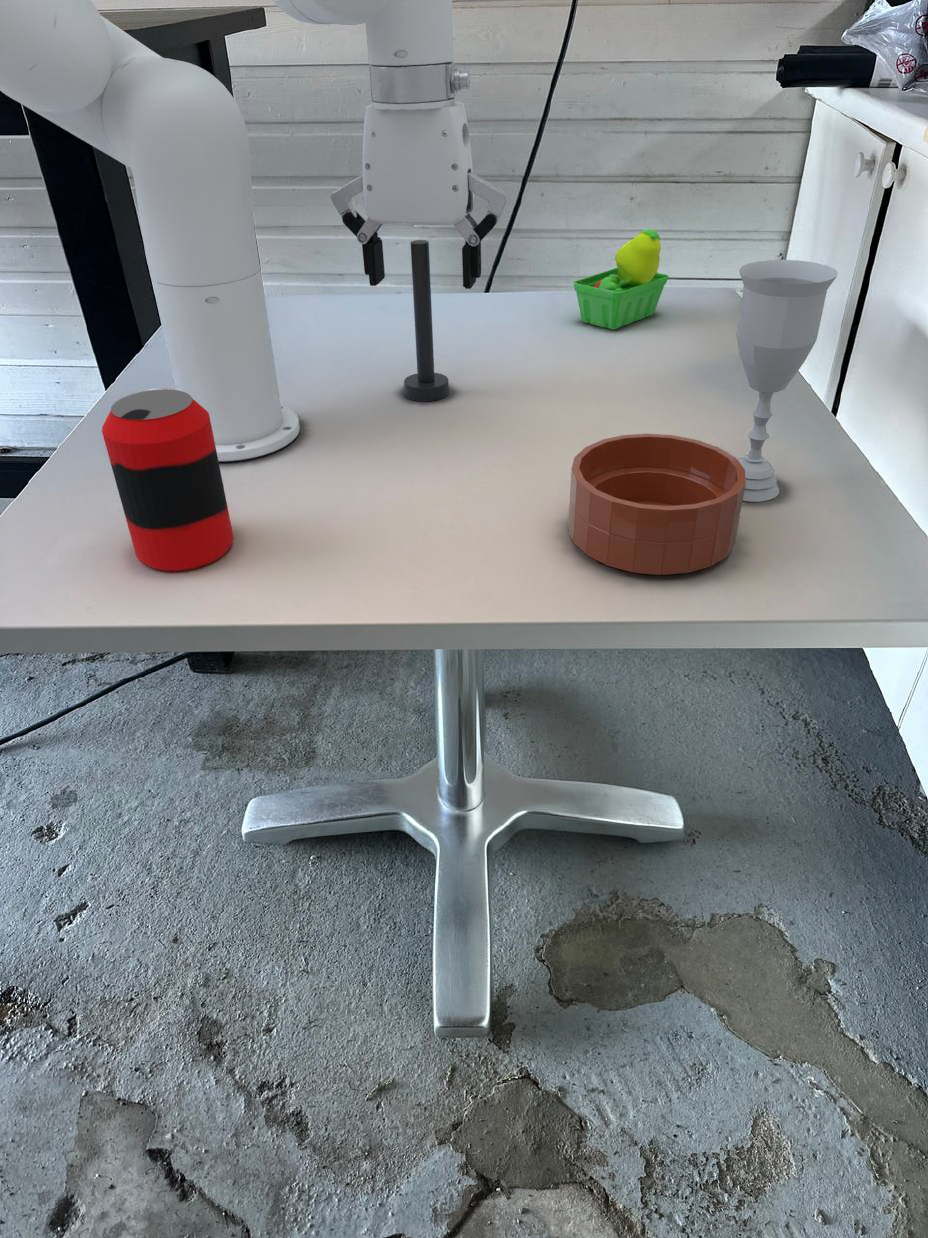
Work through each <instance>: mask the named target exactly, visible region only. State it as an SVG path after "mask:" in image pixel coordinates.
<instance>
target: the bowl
mask: <svg viewBox="0 0 928 1238" xmlns="http://www.w3.org/2000/svg"><path fill="white" fill-rule="evenodd" d="M737 459H738V458H737V457H735V456H734V455H732V454H730V453H729V452H727V451H725V450H724V449H722V448H721V447H718V446H716V445H713V444H710V443H708V442H705V441H701V440H699V439H696V438H695V439H694V438H690V437H684V436H679V435H675V434H673V435H672V434H661V433H636V434H622V435H621V434H620V435H618V436H617V435H616V436H612V437H607V438H604V439H601V440H598V441H596V442H594V443H592V444H589V445H586V446H585V447H583V448H582V449H581V450H580V452H579V453H577V454H576V455H575V456H574V457H573V461H572V465H571V470H570V471H571V472H570V487H569V488H570V490H569V506H568V507H569V508H568V509H569V510H568V526H567V527H568V528H567V530H568V533H569V535H570V538H571V541H572V543H573V544H574V545H575V546H576V547H577V548H579V549H580V550H581V551H582V552H583V553H584V554H585V555H587V556H588V557H590V558H592V559H594V560H595V561H598V562H599V563H601V564H604V565H606V566H608V567H612V568H615V569H618V570H622V571H625V572H630V573H634V574H641V575H649V576H650V575H654V576H669V575H678V574H687V573H693V572H695V571H700V570H703V569H707V568H710V567H713V566H714V565H716V564H717V563H719V562H721V561H722V560H724V559H726V558H727V557H728V556H729V554H730V552H732V549H733V548H734V546H735V544H736V539H737V534H738V529H739V525H740V524H739V523H740V518H741V513H742V506H743V496H744V490H745V485H746V475H745V469H744V467H743V466H742V465H741V464H740V462H739V461H738V460H737Z"/></svg>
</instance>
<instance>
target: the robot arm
mask: <svg viewBox="0 0 928 1238" xmlns="http://www.w3.org/2000/svg"><path fill="white" fill-rule="evenodd" d="M272 1H273V2H274V4H276V6H277V7H278V8H279V9H280V10H281V11H282V12H284V13H285V14H286V15H288V16H289V17H291V18H293V19H295V20H297V21H299V22H302V23H307V24H312V25H343V26H357V25H362V24H365V32H366V44H367V45H366V46H367V58H368V59H367V60H368V70H369V71H368V72H369V82H370V83H369V85H370V96H371V103H370V104H368V105H366V106H365V109H364V120H363V121H364V122H363V131H362V132H363V134H362V174H361V175H359V176H358V177H356V178H355V179H353V180H351V181H349V183H346V184H344V185H343V186H342V187H340V188H339V189H337V190H335V191H334V192H332V193H331V195H330V200H331V202H332V204H333V205H334V208H335V209H336V210H337V213H338V215H340V217H341V218H342V219H341V220H342V221H341V222H342V223H343V225H344V226H345V227H346V228H347V229H348V230H349V231H350V232H351V233H352V234H353V235H354V236H355V237H356V240H357V242H358V243H359V244H360V245H361V250H362V259H363V270H364V274H365V275H366V276H368V280H369V281H368V282H369V286H370V287H377V285H379V284H380V283H381V282H382V281H384V279H385V278H386V273H385V260H384V246H383V239H381V236H379V234H378V233H379V231H380V229H381V228H382V226H383V225H403V226H404V225H405V226H408V225H409V226H451V225H453V226H454V227H455V229H456V230H457V231H458V233H459V234H460V235H461V237H462V238H463V239H464V241H465V242H464V243H465V244H464V245H462V248H461V255H462V256H461V262H462V263H461V265H462V287H463V288H464V289H466V290H471V289H472V288H473V286H474V285H475V283H476V282H477V279H480V278H481V276H482V241H483V240H484V238H485V237H486V236H487V235H488V234H489V233H490V232H491V231H492V230H493V229H494V227H495V226H497V224H498V223H499V220H500V218H501V215H502V214H503V212H504V210H505V208H506V206H507V203H508V201H509V197H510V196H509V193H507V192H506V191H505V190H503V189H501V188H499V187H498V186H496V185H495V184H492V183H491V182H489V181H488V180H486V179H485V178H482V177H481V176H479V175H477V174H476V173H474V167H473V155H472V144H471V136H470V129H469V123H468V118H467V112H466V108H465V103H464V102H461V101H456V99H455V97H456V96H457V93H458V92H460V91H462V89H463V90H464V89H465V90H469V89H470V87H471V74H470V72H469V71H462V70H461V69H458V67H457V66H456V65H457V64H456V62H454V33H453V31H454V30H453V4H452V3H453V1H452V0H272ZM0 92H1V93H3V94H4V95H5V96H7V97H9V98H10V99H12V100H13V101H16V102H17V103H19V104H21V105H22V106H24V107H26V108H27V109H29V110H31V111H33V112H34V113H36V114H37V115H39V116H41V117H43V118H44V119H46V120H48V121H50V122H51V123H53V124H54V125H56V126H58V127H60V128H61V129H63V130H64V131H67V132H68V133H70V134H71V135H73V136H75V137H76V138H78V139H80V140H81V141H82V142H83V141H84V142H85V143H87V144H89V145H90V146H92V147H93V148H95V149H97V150H99V151H101V152H102V153H104V154H105V155H108V156H109V157H111V158H112V159H114V160H116V161H117V162H119V163H121V164H122V165H124V166H126V167H127V168H129V169H131V173H132V178H133V182H134V188H135V195H136V201H137V202H136V203H137V210H138V218H139V224H140V230H141V231H140V232H141V235H142V241H143V247H144V252H145V257H146V262H147V266H148V270H149V276H150V279H151V281H152V286H153V292H154V295H155V299H156V306H157V309H158V314H159V318H160V322H161V328H162V332H163V337H164V341H165V346H166V351H167V355H168V359H169V360H168V361H169V364H170V369H171V373H172V378H173V383H174V387H175V390H178V391H183V392H185V393H188V394H189V395H191V397H192V398H193V399H194V400H195V401H196V402H197V403H198V404H200V405H201V406H202V407H203V408H204V409H205V410H207V412H208V413H209V416H210V421H211V426H212V431H213V436H214V441H215V446H216V451H217V456H218V461H219V462H234V461H243V460H249V459H254V458H259V457H262V456H265V455H268V454H271V453H274V452H277V451H278V450H280V449H283V448H285V447H286V446H287V445H289V444H290V443H292V442H293V441H294V439H296V438H297V437H298V435H299V433H300V430H301V425H300V420H299V416H298V414H297V413H296V412H295V411H294V410H293V409H291V408H289V407H288V406H285V405H283V404H282V403H281V397H280V396H281V395H280V389H279V384H278V376H277V370H276V369H277V368H276V363H275V357H274V349H273V343H272V338H271V336H272V335H271V329H270V322H269V315H268V310H267V302H266V296H265V288H264V282H263V276H262V268H261V265H260V258H259V251H258V244H257V237H256V236H257V235H256V230H255V229H256V227H255V220H254V219H255V218H254V209H253V195H252V192H253V189H252V159H251V147H250V145H251V144H250V140H249V139H250V138H249V133H248V128H247V125H246V122H245V119H244V117H243V116H244V115H243V113H242V112H241V110H240V109H241V108H240V107H239V105H238V103H237V102H236V100H235V98H234V97H233V95H232V94H231V93H230V91H229V89H227V88H226V85H224V84H223V83H222V82H221V81H220V80H219V79H218V78H216V76H214V74H212V73H211V72H209V71H208V70H206V69H204V68H202V67H200V66H198V65H196V64H194V63H190V62H187V61H183V60H178V59H172V58H168V57H163V56H161V55H160V54H158V53H157V52H155V51H154V50H152V49H150V48H149V47H147V46H146V45H145V44H143V43H142V42H140V41H139V40H137V39H136V38H134V37H133V36H132V35H130V34H129V33H127V31H124V30H123V29H121V28H120V27H118V26H117V25H115V24H114V23H113V22H111V21H110V20H109V19H107V18H106V17H105V16H103V15H102V14H101V13H100V12H99V10H98V8H97V7H96V6H95V5H94V4H93V2H92V1H91V0H0ZM360 193H363V195H362V196H363V203H364V204H363V205H364V209H365V214H366V216H367V219H365V218H364V217H362V215H361V214H360V213H359V212H358V211H356V210H355V208H354V205H353V203H352V199H353V198H354V197H355V196H357V195H358V194H360ZM475 196H478V197H480V198H481V199H483V200H485V201H487V202H488V204H489V205H488V206H489V207H488V210H487V212H486V214H485V216H484V218H482V220H481V221H479V222H478V220H477V219H476V218H475V216H474V215H473V214H472V211H473V210H474V207H475ZM162 389H163V388H158V387H157V388H156V387H150V388H148V389H147V391H150V390H162Z"/></svg>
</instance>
